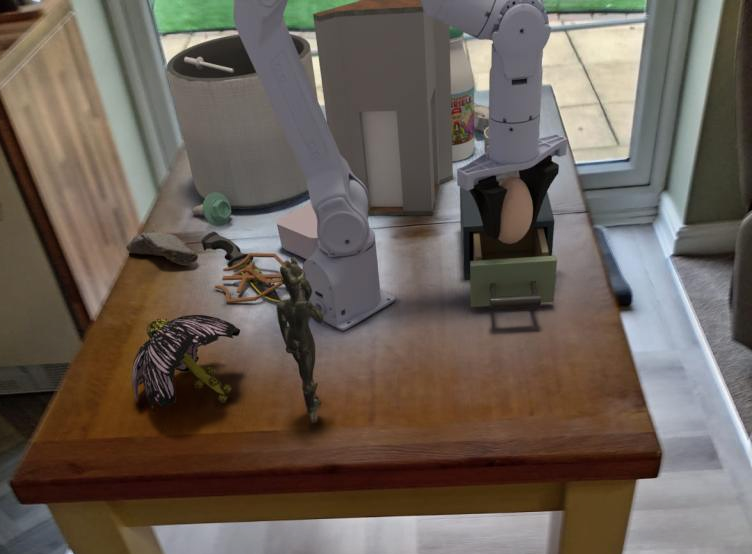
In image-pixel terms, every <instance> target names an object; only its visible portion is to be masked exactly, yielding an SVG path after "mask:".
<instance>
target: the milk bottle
mask: <svg viewBox="0 0 752 554" xmlns="http://www.w3.org/2000/svg"><path fill="white" fill-rule="evenodd" d="M449 30H450V74H451V117H452V161H453V162H459V161H462V160H466V159H468V158H469V157H471V156H472V155H473V153H474V151H475V130H474V103H475V84H474V83H475V81H474V73H473V70H472V67H471V64H470V62H469V59H468V56H467V54H466V52H465V51H466V50H465V48H464V43H463V39H464V38H465V35H464V34H465V33H464V32H462V31H459V30H457V29H455V28H453V27H451V26H449Z"/></svg>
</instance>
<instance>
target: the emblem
mask: <svg viewBox="0 0 752 554" xmlns="http://www.w3.org/2000/svg"><path fill="white" fill-rule="evenodd" d="M247 254H248V255H247V257H246V258H245V259H244V260H242V261H241V262H239V263H238V264H236V265H234V266H232V267H225V268H222V271H223V272H230V271H234V270H236V268H239V267H240V266H242V265H243V264H245V263H246V262H247V261H248V260H249V259H250V257H253V258H274V259H275V261H277V262H278V264H280V266H283V262H284V261H283V259H281V258H280V257H279V256H278V255H277V254H276V253H269V252H268V253H267V252H266V253H263V252H261V253H260V252H249V253H247ZM254 265H256V264H255V261H252V262H250V264H249V266H248V267H245V268H243V269H241V270H239V271H238V270H236V271H235V273H232V274H231V275H223V276H222V277H221V280H222V281H240V283H239V285H238V287H237V289H236V294H242V292H243V290H244V288H245V286H246V284H247V282H248V280H251V279H259V280H260V281H263V282H265V283H271V284H275V285H274V286H272V287H271V288H269V289H267V290H266V291H264V292H262V293H259V294H257V295H255V296H248V297H237V298H235V297H234V298H231V297H232V295H231V292H230V291H229V289H228V288H227V287H226V286H224V285H220V284H217V285H216V284H215V285H214V288H215V289H217V290H221V291H222V292H224V293H225V294H226V295H225V296H226V299H225V302H226V304H235V303H245V302H246V303H247V302H256V301H258V300H260V299H261V298H264V295H266V294H268V293H270V292H271V291H273V290H277V289H278V288H281V286H284V284H283V282H282V280H281V276H282V275H281V273H270V274H268V273H265V274H263V273H262V275H260V274H258V273H257V272H256V271H255V270H254V269H253V267H254ZM244 271H246V272H245V274H244V275H243V274H242V273H241V272H244ZM250 273H252V274H253V275H250ZM239 274H240V275H239Z"/></svg>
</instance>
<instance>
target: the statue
mask: <svg viewBox="0 0 752 554" xmlns="http://www.w3.org/2000/svg"><path fill="white" fill-rule="evenodd" d="M279 274H281V275H282V276H281V280H282V282H283V286H284V289H285V291H286V292H287V293H288V295H289V298H285V299H281V301H278V303H277V304H276V315H277V321H278V326H279V330H280V335H281V336H282V340H283V342H284V344H285V352H286V353H287V354H290V355H292V357H293V358H294V361H296V363H297V365H298V373H299V376H300V379H301V389H302V393H303V394H302V395H303V398H304V403H305V408H306V413H307V414H309V417H310V421H311V423H313V424H315V423H317V422H318V408H320V406H321V404H322V401H321V400H320V399H319V398H317V393H316V392H317V389H318V386H319V383H318V382H315V381H314V369H315V366H316V365H315V364H316V343H315V338H314V335H313V333H312V330H311V327H310V326H309V323H310V318H312V319H313V320H314V321H315V323H317V324H322V323H323V322H324V320H323V315H322V314H321V312H320V311H319V309H317V308H316V307H315V306H314V305H313V304H312V303H311V302H310V301H309V299H310V297H311V294H312V288H311V285H310V283H309V282H308V281H307V279H306V278H305V272H304V270H303V269H302V268H301V266H300V264H299V262H298V259H297V258H296V257H295V256H292V257H291V258H290V260H288V259H286V260H285V261H283V266H282V265H280V267H279Z"/></svg>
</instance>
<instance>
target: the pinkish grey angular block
mask: <svg viewBox="0 0 752 554" xmlns="http://www.w3.org/2000/svg"><path fill="white" fill-rule="evenodd" d="M276 227H277V231H278V236H279V240H280V241H279V242H280V245H281V247H282V248H283V250H285V251H287V252H290V253H292V254H294V255H296V256H299V257H301V258H303V259H304V260H307V259H308V258H310V257H311V256H312V255H313V254H314V252H315V251H316V249H317V247H318V236H317V218H316V214H315V212H314V210H313V208H312V205H311V202H309V203H307V204H305V205H303V206H301V207H299V208H297V209H295V210H293V211H291V212H289V213H287V214H285V215H282V216H281V217H279V218H278V219H277V220H276Z"/></svg>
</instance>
